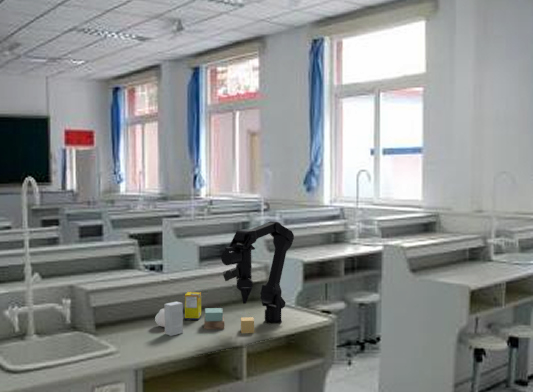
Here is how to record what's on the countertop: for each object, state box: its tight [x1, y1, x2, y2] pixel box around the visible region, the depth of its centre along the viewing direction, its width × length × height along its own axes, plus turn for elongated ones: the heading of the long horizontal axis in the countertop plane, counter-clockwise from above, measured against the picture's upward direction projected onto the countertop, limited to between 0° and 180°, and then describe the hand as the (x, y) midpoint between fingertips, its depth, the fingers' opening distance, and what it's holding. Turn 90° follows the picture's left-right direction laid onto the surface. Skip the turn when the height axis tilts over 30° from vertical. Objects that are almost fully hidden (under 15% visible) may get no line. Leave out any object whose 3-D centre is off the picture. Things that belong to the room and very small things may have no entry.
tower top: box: [204, 307, 224, 321], centre depth 241 cm, size 7×7×4 cm
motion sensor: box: [154, 308, 165, 328], centre depth 240 cm, size 8×8×8 cm
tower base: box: [203, 315, 225, 330], centre depth 241 cm, size 8×8×4 cm
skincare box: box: [164, 301, 184, 337], centre depth 230 cm, size 6×4×12 cm
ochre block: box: [240, 316, 255, 334], centre depth 234 cm, size 5×5×5 cm
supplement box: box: [184, 291, 202, 321], centre depth 253 cm, size 6×6×11 cm
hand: (244, 300), depth 234 cm, fingers open, 9 cm apart
